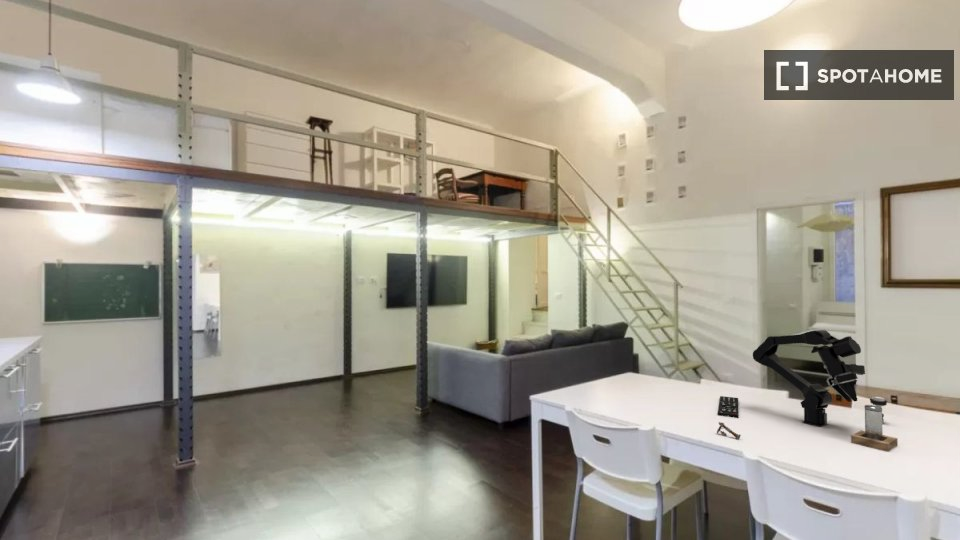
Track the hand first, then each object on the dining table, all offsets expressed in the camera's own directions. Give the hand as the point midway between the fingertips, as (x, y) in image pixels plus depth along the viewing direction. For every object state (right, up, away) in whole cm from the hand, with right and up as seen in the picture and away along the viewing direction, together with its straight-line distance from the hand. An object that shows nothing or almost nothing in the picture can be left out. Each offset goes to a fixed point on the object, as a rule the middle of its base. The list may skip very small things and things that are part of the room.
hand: (852, 401), depth 168 cm
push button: (+20, -12, +12) cm, 27 cm away
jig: (-2, -12, -11) cm, 16 cm away
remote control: (-28, -14, +34) cm, 46 cm away
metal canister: (-2, -12, -11) cm, 16 cm away
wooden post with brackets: (-49, -12, -3) cm, 50 cm away
